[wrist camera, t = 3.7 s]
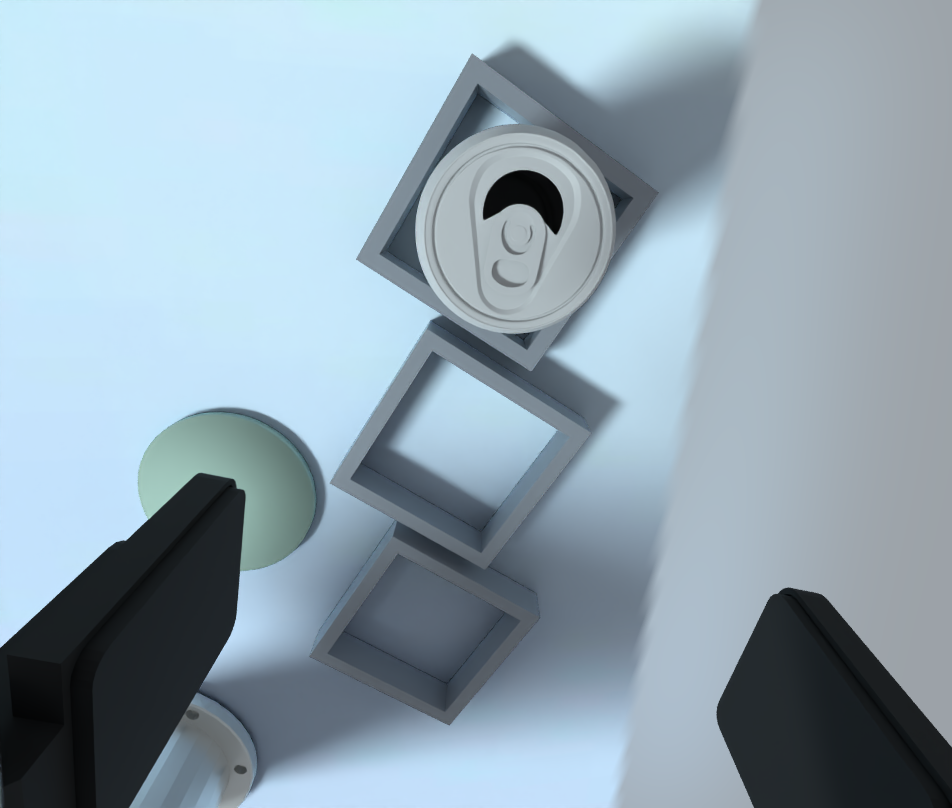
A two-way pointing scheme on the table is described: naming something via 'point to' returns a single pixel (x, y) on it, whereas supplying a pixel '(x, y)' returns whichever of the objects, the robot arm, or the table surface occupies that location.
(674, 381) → the table surface
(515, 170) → the beverage can
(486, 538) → the tray
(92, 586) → the robot arm
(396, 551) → the tray
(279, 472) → the coaster
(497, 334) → the tray
